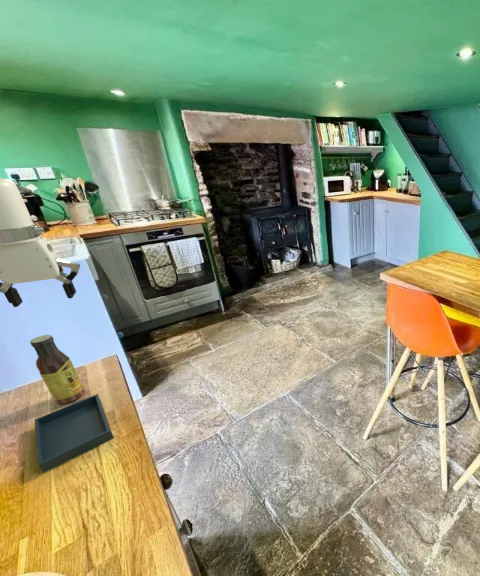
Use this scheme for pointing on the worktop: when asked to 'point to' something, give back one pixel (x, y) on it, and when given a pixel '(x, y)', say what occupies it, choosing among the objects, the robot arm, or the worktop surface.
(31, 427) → the worktop surface
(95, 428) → the tray
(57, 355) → the sauce bottle
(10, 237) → the robot arm
